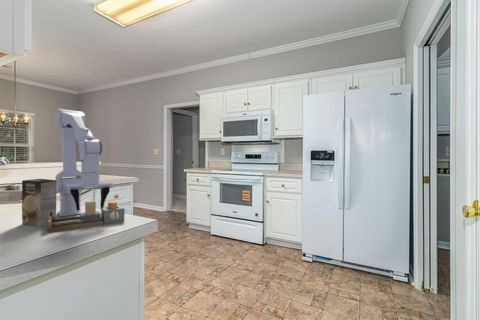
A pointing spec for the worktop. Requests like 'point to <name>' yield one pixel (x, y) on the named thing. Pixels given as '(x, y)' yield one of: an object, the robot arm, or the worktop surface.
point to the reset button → (112, 205)
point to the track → (71, 223)
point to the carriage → (90, 211)
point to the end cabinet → (112, 214)
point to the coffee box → (38, 201)
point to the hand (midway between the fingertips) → (90, 208)
